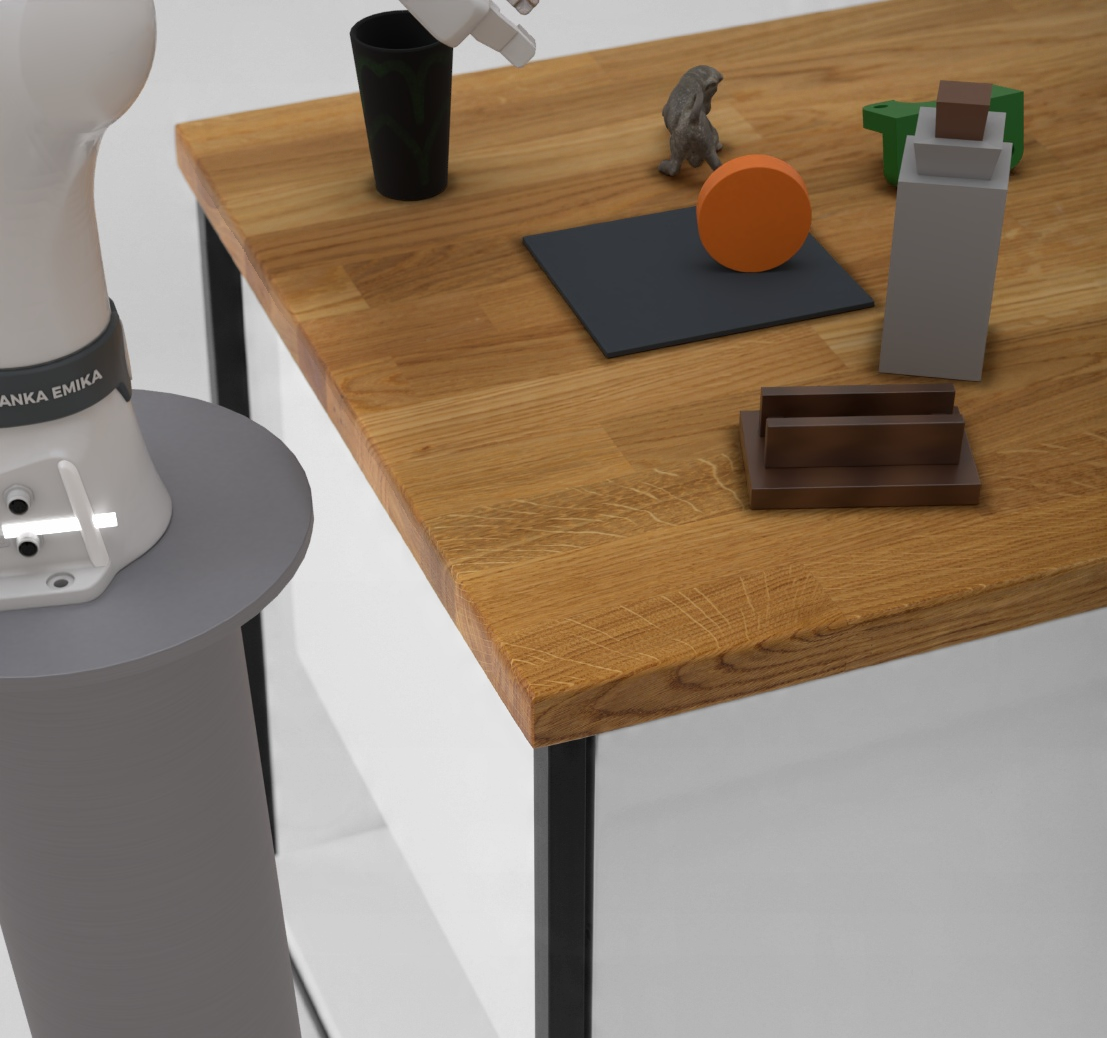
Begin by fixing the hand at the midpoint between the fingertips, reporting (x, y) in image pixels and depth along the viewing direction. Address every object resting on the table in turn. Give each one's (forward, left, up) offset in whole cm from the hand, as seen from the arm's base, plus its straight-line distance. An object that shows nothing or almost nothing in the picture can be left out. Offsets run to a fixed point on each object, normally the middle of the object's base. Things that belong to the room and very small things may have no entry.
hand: (531, 30), depth 136 cm
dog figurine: (+18, +14, -18) cm, 29 cm away
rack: (+11, -30, -18) cm, 37 cm away
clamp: (+35, +6, -18) cm, 40 cm away
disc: (+15, -4, -14) cm, 21 cm away
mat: (+11, -3, -18) cm, 21 cm away
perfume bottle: (+22, -19, -18) cm, 34 cm away
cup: (-4, +18, -18) cm, 26 cm away
